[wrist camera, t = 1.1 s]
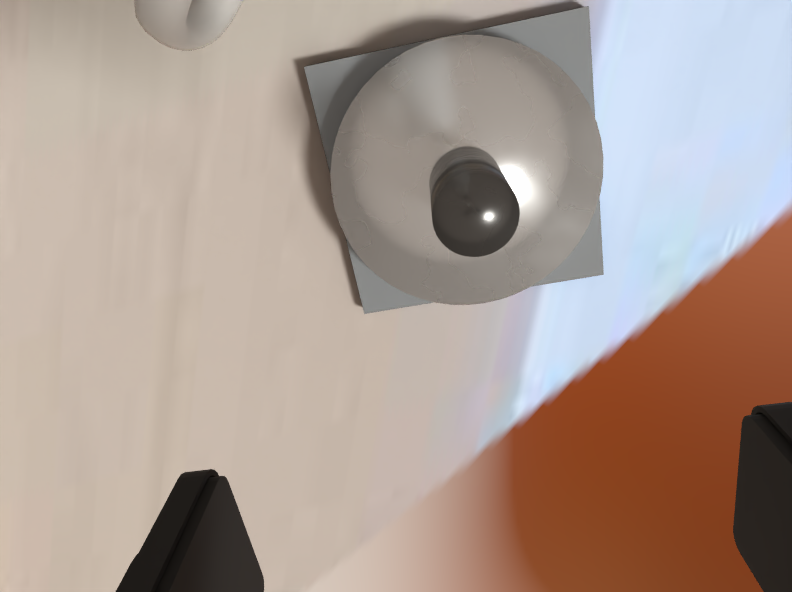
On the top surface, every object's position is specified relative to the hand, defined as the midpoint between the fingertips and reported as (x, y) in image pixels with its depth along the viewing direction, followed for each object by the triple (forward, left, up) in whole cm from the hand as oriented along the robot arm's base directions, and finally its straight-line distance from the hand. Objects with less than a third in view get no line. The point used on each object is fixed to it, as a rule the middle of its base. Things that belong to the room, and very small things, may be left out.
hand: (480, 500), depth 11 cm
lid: (-1, +1, -19) cm, 19 cm away
